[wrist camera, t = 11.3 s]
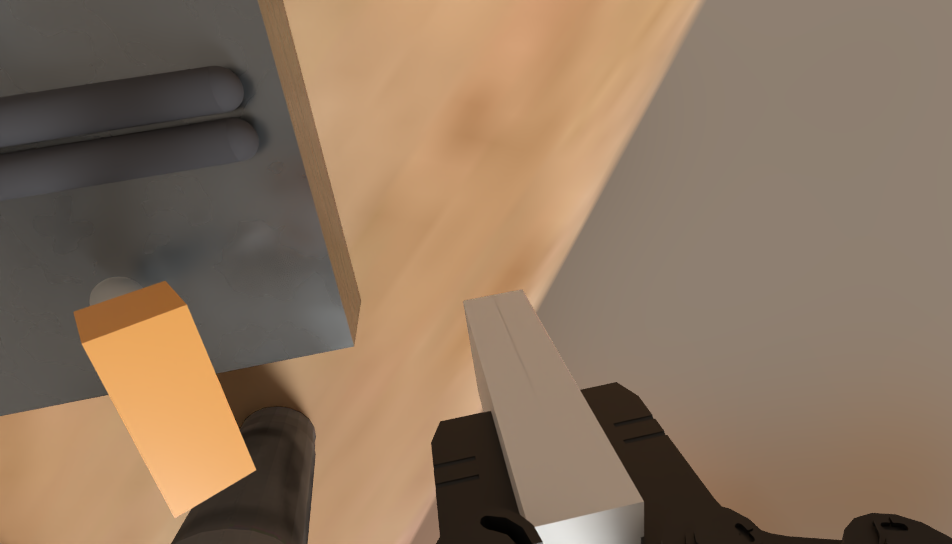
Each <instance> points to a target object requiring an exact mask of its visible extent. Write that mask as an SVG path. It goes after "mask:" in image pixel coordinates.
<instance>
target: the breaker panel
mask: <svg viewBox="0 0 952 544" xmlns="http://www.w3.org/2000/svg"><path fill="white" fill-rule="evenodd" d="M207 66H221V67H224V68H227V69H229V70H231V71H232V72H233V73H234V74H236V76H237V77H238V78H239V79H240V81H241V83H242V86H243V90H244V96H243V100H242V102H241V104H240V105H239V106H238V107H237V108H236V109H235V110H233V111H231V112H227V113H220V114H214V115H208V116H201V117H195V118H188V119H182V120H175V121H169V122H163V123H156V124H150V125H143V126H137V127H130V128H124V129H118V130H111V131H105V132H98V133H92V134H85V135H79V136H73V137H66V138H60V139H53V140H47V141H41V142H34V143H28V144H21V145H15V146H8V147H2V148H0V154H3V153H9V152H15V151H22V150H28V149H35V148H41V147H47V146H54V145H60V144H66V143H73V142H79V141H86V140H92V139H98V138H105V137H111V136H118V135H124V134H130V133H137V132H143V131H149V130H156V129H162V128H169V127H175V126H181V125H188V124H194V123H201V122H207V121H213V120H220V119H226V118H239V119H242V120H244V121H246V122H248V123H249V124H250V125H252V126H253V128H254V129H255V130H256V132H257V135H258V138H259V147H258V150H257V152H256V153H255V155H254V156H253V157H251V158H250V159H248V160H245V161H242V162H236V163H230V164H224V165H217V166H211V167H205V168H199V169H193V170H187V171H181V172H175V173H169V174H163V175H156V176H150V177H144V178H138V179H132V180H126V181H120V182H114V183H108V184H102V185H95V186H89V187H83V188H77V189H71V190H65V191H59V192H53V193H47V194H40V195H34V196H28V197H22V198H16V199H10V200H4V201H0V416H3V415H8V414H13V413H18V412H23V411H29V410H34V409H39V408H44V407H49V406H54V405H59V404H64V403H69V402H74V401H79V400H84V399H89V398H95V397H100V396H105V395H109V394H108V392H107V391H106V389H105V387H104V385H103V383H102V381H101V379H100V377H99V376H98V374H97V372H96V370H95V368H94V366H93V364H92V362H91V361H90V359H89V357H88V355H87V353H86V351H85V349H84V347H83V346H82V344H81V340H80V336H79V332H78V328H77V324H76V320H75V317H74V313H73V312H74V311H77V310H80V309H83V308H86V307H89V306H90V301H89V300H90V294H91V292H92V290H93V289H94V287H95V286H96V285H97V284H98V283H100V282H101V281H103V280H105V279H108V278H112V277H126V278H130V279H132V280H134V281H136V282H137V283H138V284H140V285H141V286H142V288H145V287H148V286H151V285H154V284H157V283H160V282H163V281H166V282H167V283H168V284H169V285H170V287H171V288H172V289H173V290H174V291H175V292H176V293H177V294H178V295H179V297H180V298H181V299H182V300H183V301H184V302H185V303H186V304H187V306H188V309H189V311H190V313H191V316H192V318H193V320H194V323H195V325H196V328H197V330H198V332H199V335H200V337H201V340H202V342H203V344H204V347H205V349H206V351H207V354H208V356H209V359H210V361H211V363H212V366H213V368H214V371H215V373H221V372H227V371H232V370H237V369H242V368H247V367H252V366H257V365H262V364H267V363H272V362H277V361H282V360H287V359H293V358H298V357H303V356H308V355H313V354H318V353H323V352H328V351H333V350H338V349H343V348H348V347H353V346H354V344H355V337H356V331H357V324H358V318H359V311H360V305H361V299H360V295H359V291H358V287H357V284H356V280H355V276H354V272H353V268H352V264H351V260H350V257H349V253H348V249H347V245H346V241H345V237H344V234H343V230H342V226H341V222H340V218H339V214H338V211H337V207H336V203H335V199H334V195H333V191H332V188H331V184H330V180H329V176H328V172H327V168H326V165H325V161H324V157H323V153H322V149H321V145H320V142H319V138H318V134H317V130H316V126H315V122H314V119H313V115H312V111H311V107H310V103H309V99H308V96H307V92H306V88H305V84H304V80H303V76H302V73H301V69H300V65H299V61H298V57H297V53H296V50H295V46H294V42H293V38H292V34H291V30H290V27H289V23H288V19H287V15H286V11H285V7H284V4H283V0H0V97H5V96H11V95H18V94H25V93H32V92H38V91H45V90H52V89H59V88H65V87H72V86H79V85H86V84H93V83H99V82H106V81H113V80H120V79H126V78H133V77H140V76H147V75H153V74H160V73H167V72H174V71H180V70H187V69H194V68H201V67H207Z"/></svg>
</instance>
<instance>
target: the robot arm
mask: <svg viewBox="0 0 952 544" xmlns="http://www.w3.org/2000/svg"><path fill="white" fill-rule="evenodd" d="M463 303H464V309H465V315H466V321H467V327H468V333H469V339H470V345H471V351H472V357H473V363H474V369H475V375H476V381H477V386H478V392H479V396H480V400H481V404H482V408H483V413H478V414H473V415H469V416H464V417H459V418H455V419H450V420H445V421H441V422H440V423H439V426H438V428H437V430H436V433H435V435H434V437H433V440H432V442H431V445H432V456H433V466H434V477H435V486H436V498H437V508H438V519H439V530H440V538H439V540H438V541H437V543H436V544H952V538H950V537H949V536H947V535H945V534H943V533H941V532H939V531H937V530H935V529H933V528H931V527H930V526H928V525H926V524H924V523H922V522H918V521H915V520H912V519H908V518H905V517H902V516H899V515H895V514H879V513H870V514H867V515H864V516H860V517H857V518H854V519H853V520H852V521H851V523H850V524H849V525H848V526H847V527H846V528H845V530H844V534H843V538H842V540H831V539H817V538H802V537H789V536H783V535H777V534H771V533H768V532H765V531H762V530H760V529H759V528H758V527H757V526H756V525H755V524H754V523H753V522H752V521H751V520H749V519H748V518H746V517H744V516H742V515H740V514H739V513H737V512H735V511H733V510H731V509H729V508H725V507H722V506H721V505H720V504H719V503H718V502H717V501H716V500H715V499H714V498H713V496H712V495H711V494H710V492H709V491H708V490H707V488H706V487H705V485H704V484H703V483H702V481H701V480H700V479H699V477H698V476H697V475H696V473H695V472H694V471H693V469H692V468H691V467H690V465H689V464H688V463H687V461H686V460H685V459H684V457H683V456H682V454H681V453H680V452H679V450H678V449H677V448H676V446H675V445H674V444H673V442H672V441H671V440H670V438H669V437H668V435H665V433H664V430H663V429H662V428H661V426H660V425H659V423H658V422H657V421H656V419H653V417H652V414H651V413H650V411H649V410H648V408H647V407H646V406H645V404H644V403H643V402H642V400H641V399H640V398H639V396H637V395H636V394H634V393H633V392H631V391H630V390H628V389H626V388H625V387H623V386H622V385H620V384H618V383H617V382H615V383H610V384H606V385H601V386H597V387H592V388H587V389H583V390H580V389H579V388H578V386H577V384H576V382H575V380H574V379H573V377H572V375H571V373H570V372H569V370H568V368H567V366H566V365H565V363H564V361H563V359H562V358H561V356H560V354H559V352H558V351H557V349H556V347H555V346H554V344H553V342H552V340H551V339H550V337H549V335H548V333H547V332H546V330H545V328H544V326H543V325H542V323H541V321H540V319H539V318H538V316H537V314H536V312H535V311H534V309H533V307H532V305H531V304H530V302H529V300H528V298H527V297H526V295H525V293H524V291H523V290H517V291H511V292H506V293H501V294H496V295H491V296H486V297H481V298H475V299H470V300H465V301H463Z"/></svg>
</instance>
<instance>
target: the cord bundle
mask: <svg viewBox="0 0 952 544" xmlns="http://www.w3.org/2000/svg"><path fill="white" fill-rule="evenodd" d="M243 96H244V90H243V86H242V83H241V81H240V79H239V78H238V77H237V76H236V74H234V73H233V72H232V71H231V70H229V69H227V68H224V67H221V66H207V67H201V68H194V69H187V70H180V71H174V72H167V73H160V74H153V75H147V76H140V77H133V78H126V79H120V80H113V81H106V82H99V83H93V84H86V85H79V86H72V87H65V88H59V89H52V90H45V91H38V92H32V93H25V94H18V95H11V96H5V97H0V148H2V147H8V146H15V145H21V144H28V143H34V142H41V141H47V140H53V139H60V138H66V137H73V136H79V135H85V134H92V133H98V132H105V131H111V130H118V129H124V128H130V127H137V126H143V125H150V124H156V123H163V122H169V121H175V120H182V119H188V118H195V117H201V116H208V115H214V114H220V113H227V112H231V111H233V110H235V109H236V108H237V107H238V106H239V105H240V104H241V102H242V100H243ZM258 147H259V138H258V135H257V132H256V130H255V129H254V128H253V126H252V125H250V124H249V123H248V122H246V121H244V120H242V119H239V118H226V119H220V120H213V121H207V122H201V123H194V124H188V125H181V126H175V127H169V128H162V129H156V130H149V131H143V132H137V133H130V134H124V135H118V136H111V137H105V138H98V139H92V140H86V141H79V142H73V143H66V144H60V145H54V146H47V147H41V148H35V149H28V150H22V151H15V152H9V153H3V154H0V201H4V200H10V199H16V198H22V197H28V196H34V195H40V194H47V193H53V192H59V191H65V190H71V189H77V188H83V187H89V186H95V185H102V184H108V183H114V182H120V181H126V180H132V179H138V178H144V177H150V176H156V175H163V174H169V173H175V172H181V171H187V170H193V169H199V168H205V167H211V166H217V165H224V164H230V163H236V162H242V161H245V160H248V159H250V158H251V157H253V156H254V155H255V153H256V152H257V150H258Z"/></svg>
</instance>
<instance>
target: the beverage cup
mask: <svg viewBox="0 0 952 544" xmlns="http://www.w3.org/2000/svg"><path fill="white" fill-rule="evenodd" d="M240 432H241V435H242V437H243V440H244V442H245V444H246V447H247V449H248V452H249V454H250V456H251V459H252V461H253V463H254V466H255V468H256V471H254V472H252V473H251V474H249V475H247V476H246V477H244V478H242V479H240V480H239V481H237V482H235V483H234V484H232V485H230V486H229V487H227V488H225V489H224V490H222V491H220V492H219V493H217V494H215V495H213V496H212V497H210V498H208V499H207V500H205V501H203V502H202V503H200V504H198V505H197V506H195V507H193V508H192V509H191V511H190V512H189V514H188V516H187V517H186V519H185V521H184V522H183V524H182V526H181V528H180V529H179V531H178V533H177V534H176V536H175V538H174V540H173V541H172V543H171V544H307V543H308V532H309V521H310V510H311V499H312V488H313V477H314V466H315V455H316V454H315V439H316V434H315V429H314V426H313V425H312V423H311V422H310V420H309V419H308V418H307V417H305V416H304V415H303V414H302V413H300V412H298V411H295V410H293V409H290V408H284V407H269V408H264V409H261V410H259V411H256V412H254V413H253V414H252V415H250V416H249V417H248V418H246V420H245V421H244V423H243V425H242V426H241V428H240Z"/></svg>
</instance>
